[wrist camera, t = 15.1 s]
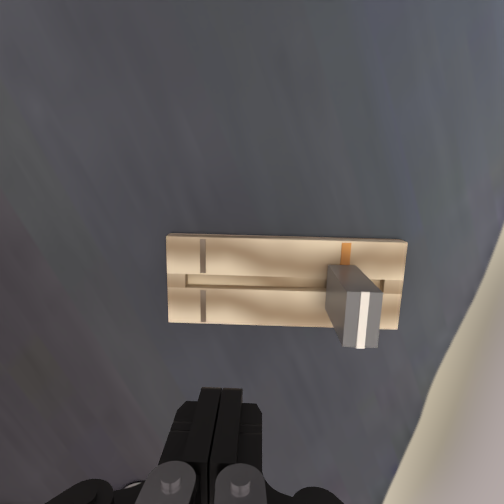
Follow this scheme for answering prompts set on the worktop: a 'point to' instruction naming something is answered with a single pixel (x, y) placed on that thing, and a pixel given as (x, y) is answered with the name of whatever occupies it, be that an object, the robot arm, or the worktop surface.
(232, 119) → the worktop surface
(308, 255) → the fader board
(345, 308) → the fader knob
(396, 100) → the worktop surface
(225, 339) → the worktop surface
